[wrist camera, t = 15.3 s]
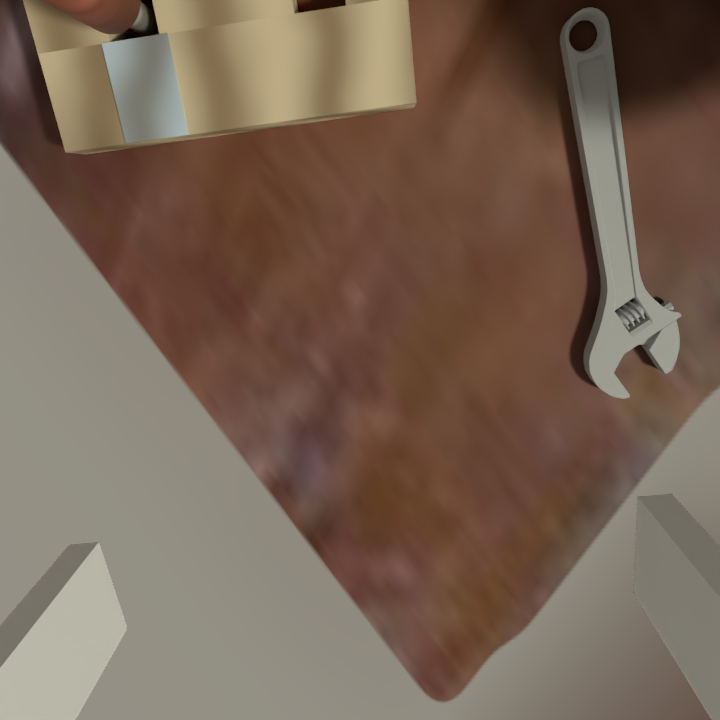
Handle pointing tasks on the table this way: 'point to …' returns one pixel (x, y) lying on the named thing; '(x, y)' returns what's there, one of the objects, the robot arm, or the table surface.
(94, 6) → the awl
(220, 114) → the board
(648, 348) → the adjustable wrench
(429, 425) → the table surface
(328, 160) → the table surface
